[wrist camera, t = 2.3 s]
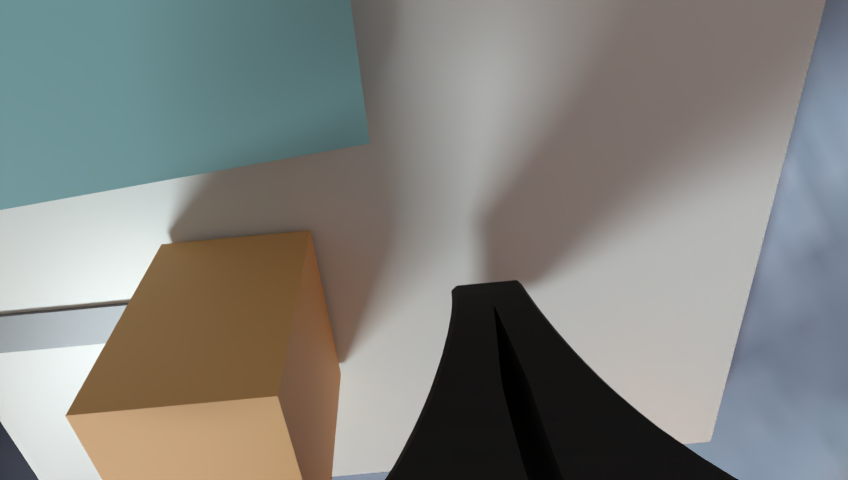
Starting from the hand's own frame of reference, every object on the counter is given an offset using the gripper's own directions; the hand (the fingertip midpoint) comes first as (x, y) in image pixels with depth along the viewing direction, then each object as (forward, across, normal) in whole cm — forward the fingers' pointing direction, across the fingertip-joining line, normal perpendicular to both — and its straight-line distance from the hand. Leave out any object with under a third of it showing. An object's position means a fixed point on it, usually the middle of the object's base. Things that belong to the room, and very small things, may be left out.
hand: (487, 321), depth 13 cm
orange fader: (+1, +5, 0) cm, 5 cm away
